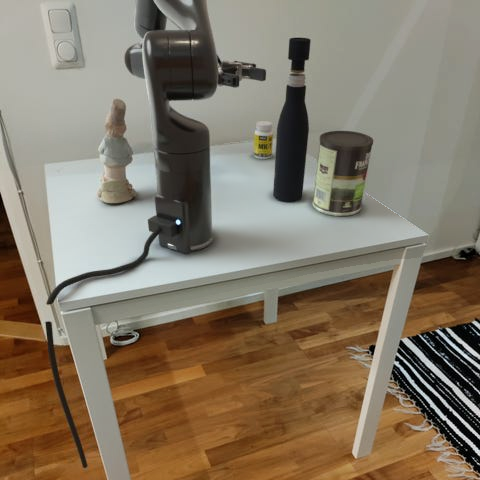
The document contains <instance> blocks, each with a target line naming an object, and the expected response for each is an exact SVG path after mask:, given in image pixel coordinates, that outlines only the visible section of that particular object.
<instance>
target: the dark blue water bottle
mask: <svg viewBox="0 0 480 480" xmlns="http://www.w3.org/2000/svg"><path fill="white" fill-rule="evenodd" d="M311 43H312V42H311V39H310V38H308V37H291V38H289V40H288V55H287V59H288V60H291V63H290V72H291V73H289V74H288V78H287V79H288V80H287V85H286V87H285V101H284V104H283V106H282V109H281V111H280V114H279V118H278V122H277V127H276V137H275V138H276V140H275V156H274V157H275V158H274V175H273V189H272V190H273V191H272V192H273V193H272V196H273V198H274V199H275V200H276V201H279V202H282V203H283V202H285V203H295V202H298V201H301V200H302V198H303V193H304V183H305V172H306V164H307V163H306V161H307V153H308V152H307V151H308V142H309V132H310V122H309V113H308V110H307V104H306V92H307V85H306V79H307V78H306V74H304V73H305V72H306V71H305V68H306V67H305V66H306V65H305V64H306V61H309V59H310V54H311V53H310V52H311Z"/></svg>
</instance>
